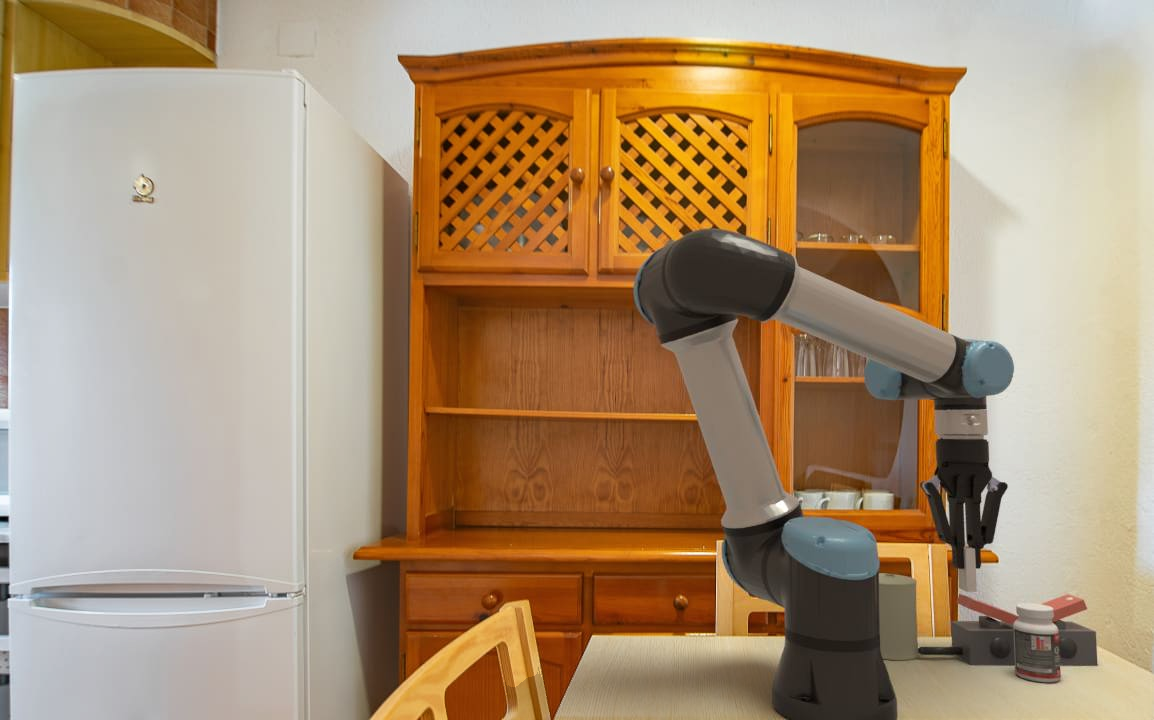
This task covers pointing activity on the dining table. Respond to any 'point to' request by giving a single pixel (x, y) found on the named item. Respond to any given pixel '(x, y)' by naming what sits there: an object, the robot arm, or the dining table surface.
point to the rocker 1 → (987, 609)
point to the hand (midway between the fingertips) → (967, 589)
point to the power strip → (1012, 643)
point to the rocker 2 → (1066, 606)
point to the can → (898, 617)
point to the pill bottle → (1036, 643)
